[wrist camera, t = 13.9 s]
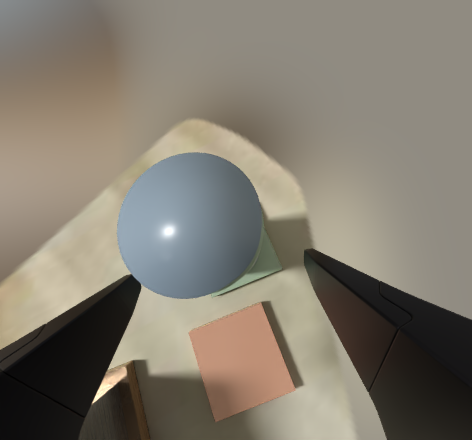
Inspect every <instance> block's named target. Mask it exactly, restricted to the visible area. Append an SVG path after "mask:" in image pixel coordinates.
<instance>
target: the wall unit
mask: <svg viewBox="0 0 472 440" xmlns="http://www.w3.org/2000/svg"><path fill="white" fill-rule="evenodd" d="M79 440H150V436H149V432H148V427H147V423H146V418H145V414H144V409H143V405H142V400H141V396H140V391H139V387H138V382H137V378H136V373H135V369H134V364H133V360H132V361H130V362H127V363H125V364H122V365H120V366H117V367H115V368H112V369H110V370H107V372H106V374H105V376H104V378H103V381H102V383H101V385H100V387H99V389H98V392H97V394H96V396H95V398H94V400H93V403H92V405H91V407H90V409H89V411H88V414H87V416H86V418H85V420H84V423H83V425H82V428H81V431H80V435H79Z"/></svg>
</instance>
